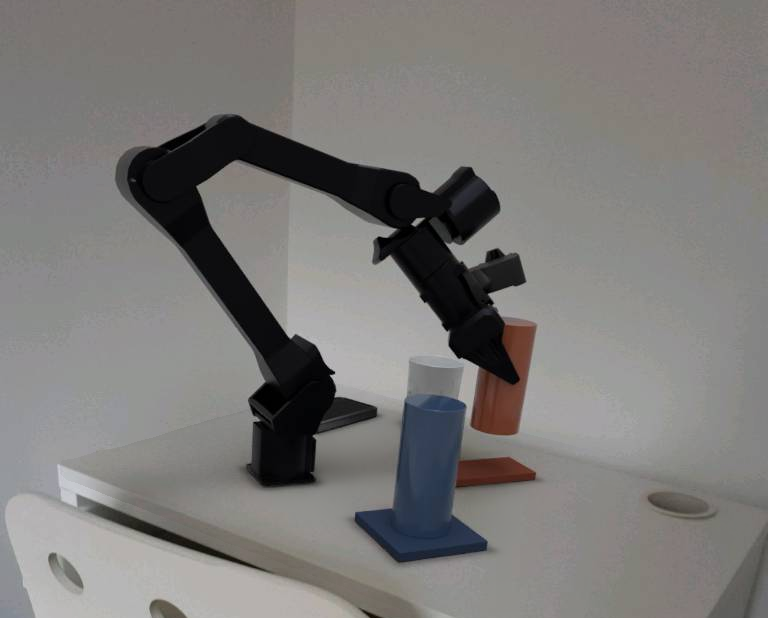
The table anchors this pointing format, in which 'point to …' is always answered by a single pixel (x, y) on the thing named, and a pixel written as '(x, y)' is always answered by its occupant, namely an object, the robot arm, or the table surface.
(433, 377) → the white cup
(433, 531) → the blue cylinder
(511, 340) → the terracotta cylinder
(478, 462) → the terracotta mat
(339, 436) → the table surface
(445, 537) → the blue mat
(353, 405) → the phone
